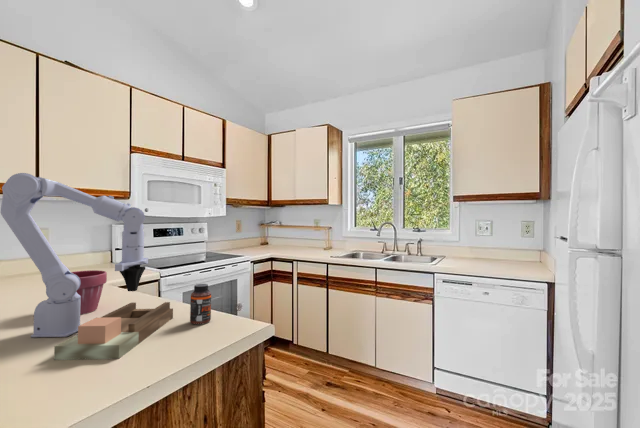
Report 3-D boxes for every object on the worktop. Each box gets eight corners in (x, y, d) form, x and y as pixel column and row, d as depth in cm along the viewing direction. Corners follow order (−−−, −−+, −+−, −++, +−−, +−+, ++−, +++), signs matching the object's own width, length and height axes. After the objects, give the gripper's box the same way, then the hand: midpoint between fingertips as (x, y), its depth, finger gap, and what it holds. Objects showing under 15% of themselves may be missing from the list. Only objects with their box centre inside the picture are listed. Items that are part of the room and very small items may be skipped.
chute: (54, 359, 67) (54, 337, 67) (127, 318, 95) (127, 302, 95) (119, 358, 68) (119, 336, 68) (172, 317, 96) (173, 302, 96)
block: (77, 343, 69) (78, 326, 69) (95, 333, 75) (96, 317, 75) (105, 343, 69) (105, 325, 69) (121, 333, 75) (121, 317, 75)
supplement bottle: (203, 326, 89) (204, 287, 89) (185, 324, 90) (186, 286, 90) (214, 319, 95) (215, 283, 95) (197, 318, 96) (198, 282, 96)
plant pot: (77, 319, 94) (78, 278, 94) (40, 316, 96) (41, 276, 97) (116, 306, 108) (116, 270, 108) (82, 304, 110) (83, 269, 111)
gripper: (133, 248, 86) (132, 296, 86) (157, 244, 100) (157, 285, 100) (107, 248, 85) (106, 296, 85) (136, 244, 100) (135, 285, 100)
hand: (132, 290), depth 93 cm, fingers closed
